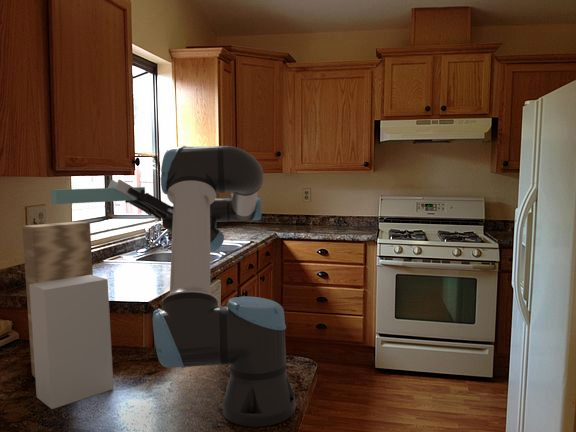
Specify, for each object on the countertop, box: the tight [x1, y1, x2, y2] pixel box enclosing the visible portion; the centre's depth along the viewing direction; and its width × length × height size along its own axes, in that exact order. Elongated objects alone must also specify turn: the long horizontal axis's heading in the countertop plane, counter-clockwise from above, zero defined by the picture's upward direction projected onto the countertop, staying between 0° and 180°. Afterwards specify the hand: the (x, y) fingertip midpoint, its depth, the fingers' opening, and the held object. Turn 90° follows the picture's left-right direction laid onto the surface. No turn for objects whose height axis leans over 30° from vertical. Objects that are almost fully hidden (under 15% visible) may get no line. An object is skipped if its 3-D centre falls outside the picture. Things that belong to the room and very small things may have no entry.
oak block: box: [21, 221, 94, 378], centre depth 130 cm, size 14×7×38 cm, turn 135°
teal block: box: [49, 186, 146, 205], centre depth 134 cm, size 24×4×4 cm, turn 135°
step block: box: [29, 275, 114, 410], centre depth 117 cm, size 14×9×26 cm, turn 135°
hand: (113, 184), depth 137 cm, fingers closed on teal block, 3 cm apart
